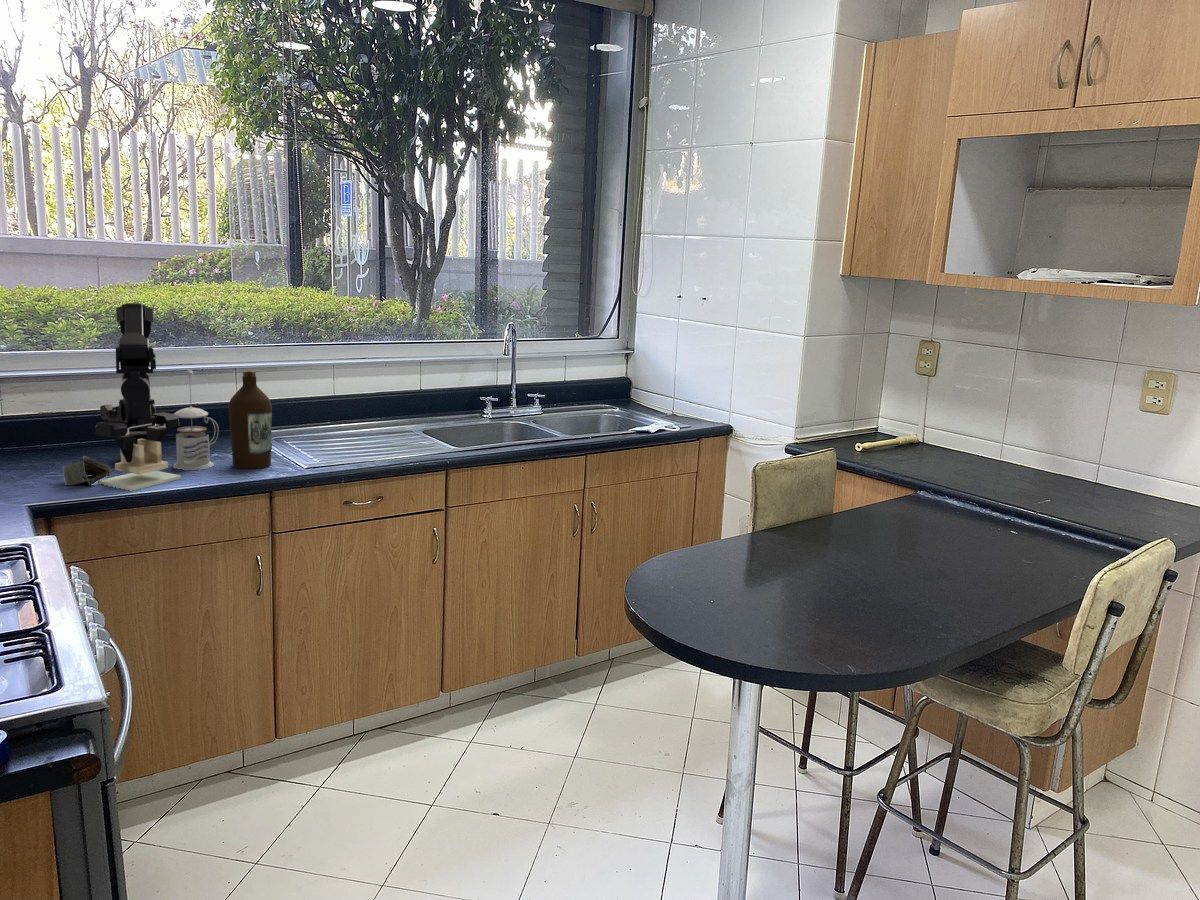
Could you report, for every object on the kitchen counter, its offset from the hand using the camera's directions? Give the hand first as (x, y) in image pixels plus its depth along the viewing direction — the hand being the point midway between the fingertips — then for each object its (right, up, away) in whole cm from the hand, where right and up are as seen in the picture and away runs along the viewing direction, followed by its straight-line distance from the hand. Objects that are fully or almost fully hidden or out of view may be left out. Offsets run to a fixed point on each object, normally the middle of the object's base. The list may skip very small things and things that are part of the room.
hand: (140, 459), depth 214 cm
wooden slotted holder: (0, -2, 0) cm, 2 cm away
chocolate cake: (-13, -5, -1) cm, 14 cm away
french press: (+5, -2, +19) cm, 20 cm away
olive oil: (+18, -2, +22) cm, 29 cm away
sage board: (-1, -5, +1) cm, 5 cm away
